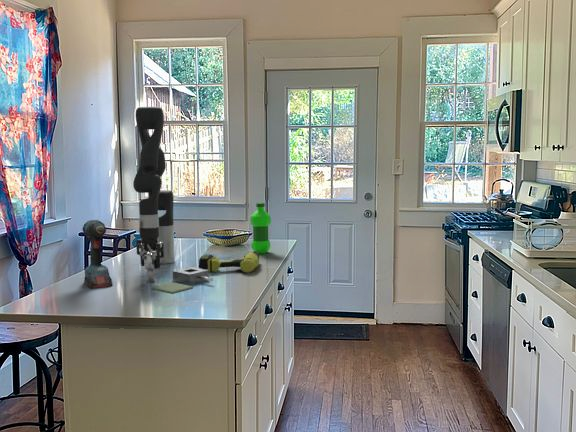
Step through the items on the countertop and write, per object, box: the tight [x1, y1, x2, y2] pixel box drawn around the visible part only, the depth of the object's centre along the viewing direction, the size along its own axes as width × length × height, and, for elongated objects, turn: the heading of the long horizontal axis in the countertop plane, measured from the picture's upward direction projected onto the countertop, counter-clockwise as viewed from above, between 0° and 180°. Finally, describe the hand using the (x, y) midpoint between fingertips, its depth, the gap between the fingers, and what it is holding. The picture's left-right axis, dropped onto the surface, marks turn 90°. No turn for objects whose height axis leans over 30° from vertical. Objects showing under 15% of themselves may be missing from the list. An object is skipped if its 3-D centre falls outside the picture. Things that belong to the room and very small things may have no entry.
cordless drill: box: [198, 251, 260, 274], centre depth 251 cm, size 7×25×25 cm
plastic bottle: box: [250, 202, 272, 254], centre depth 286 cm, size 10×10×25 cm
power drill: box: [82, 219, 114, 289], centre depth 220 cm, size 9×23×25 cm, turn 27°
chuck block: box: [172, 266, 214, 286], centre depth 225 cm, size 17×10×4 cm, turn 52°
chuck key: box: [142, 252, 157, 284], centre depth 225 cm, size 5×7×11 cm
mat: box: [150, 281, 194, 294], centre depth 215 cm, size 12×10×1 cm
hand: (150, 267), depth 225 cm, fingers open, 7 cm apart
